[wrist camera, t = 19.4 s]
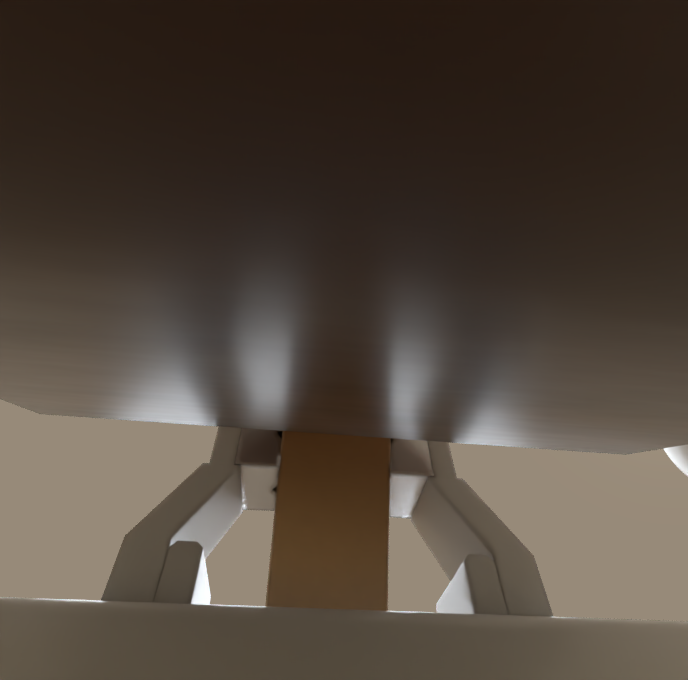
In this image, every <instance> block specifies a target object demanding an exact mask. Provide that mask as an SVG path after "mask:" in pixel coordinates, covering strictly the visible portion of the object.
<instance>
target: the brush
mask: <svg viewBox="0 0 688 680" xmlns="http://www.w3.org/2000/svg"><path fill="white" fill-rule="evenodd" d="M390 450H391V438H380V437H365V436H351V435H336V434H322V433H307V432H293V431H282V440H281V463H280V471H279V473H278V481H277V492H276V502H275V513H274V523H273V534H272V543H271V554H270V564H269V574H268V585H267V595H266V605H265V606H267V607H295V608H323V609H351V610H379V611H388V573H389V572H388V571H389V567H388V566H389V511H390V478H389V467H390Z"/></svg>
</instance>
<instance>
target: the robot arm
mask: <svg viewBox="0 0 688 680" xmlns="http://www.w3.org/2000/svg"><path fill="white" fill-rule="evenodd" d="M281 440H282V431H278V430H264V429H250V428H235V427H221V426H219V428H218V432H217V435H216V439H215V443H214V447H213V451H212V455H211V459H210V463H203V464H202V465H201V466H200V467H199V468H197V469H196V470H195V471H194V472H193V473H192V474H191V475H190V476H189V477H188V478H187V479H186V480H185V481H183V482H182V483H181V484H180V485H179V486H178V487H177V488H176V489H175V490H174V491H173V492H172V493H171V494H170V495H168V496H167V497H166V498H165V499H164V500H163V501H162V502H161V503H160V504H159V505H158V506H157V507H155V508H154V509H153V510H152V511H151V512H150V513H149V514H148V515H147V516H146V517H145V518H144V519H143V520H142V521H140V522H139V523H138V524H137V525H136V526H135V527H134V528H133V529H132V530H131V531H130V532H129V533H128V534H126V535H125V537H124V540H123V543H122V545H121V548H120V550H119V553H118V556H117V558H116V561H115V564H114V567H113V569H112V572H111V575H110V577H109V580H108V583H107V586H106V588H105V591H104V594H103V596H102V599H101V601H94V600H66V599H37V598H10V597H8V598H7V597H0V680H688V621H660V620H632V619H603V618H574V617H553V614H552V611H551V608H550V604H549V602H548V599H547V595H546V592H545V589H544V586H543V583H542V580H541V577H540V574H539V571H538V567H537V564H536V561H535V558H534V556H533V555H532V553H531V552H530V551H529V550H528V549H527V548H526V547H525V546H524V545H523V544H522V543H521V542H520V540H519V539H518V538H517V537H516V536H515V535H514V534H513V533H512V532H511V531H510V530H509V529H508V527H507V526H506V525H505V524H504V523H503V522H502V521H501V520H500V519H499V518H498V517H497V515H496V514H495V513H494V512H493V511H492V510H491V509H490V508H489V507H488V506H487V505H486V504H485V503H484V502H483V500H482V499H481V498H480V497H479V496H478V495H477V494H476V493H475V492H474V491H473V490H472V488H471V487H470V486H469V485H468V484H467V483H466V482H465V481H464V480H463V479H460V478H457V477H456V473H455V468H454V464H453V460H452V456H451V451H450V447H449V442H437V441H423V440H408V439H394V438H391V450H390V467H389V478H390V511H389V517H397V518H410V519H411V522H412V523H413V525H414V526H415V527H416V529H417V531H418V532H419V534H420V535H421V537H422V538H423V540H424V541H425V543H426V544H427V546H428V547H429V549H430V551H431V552H432V553H433V555H434V557H435V558H436V560H437V561H438V563H439V564H440V566H441V567H442V569H443V570H444V572H445V573H446V575H447V576H448V578H449V579H450V581H451V582H450V583H449V585H448V587H447V588H446V590H445V591H444V593H443V594H442V596H441V598H440V599H439V601H438V602H437V604H436V608H437V613H435V612H406V611H405V612H404V611H379V610H351V609H323V608H295V607H267V606H238V605H209V603H210V597H211V596H210V589H209V583H208V576H207V570H206V564H205V559H206V558H207V557H208V555H209V554H210V553H211V551H212V550H213V549H214V548H215V546H216V545H217V544H218V542H219V541H220V540H221V539H222V537H223V536H224V535H225V534H226V532H227V531H228V530H229V529H230V527H231V526H232V525H233V523H234V522H235V521H236V520H237V518H238V517H239V516H240V515H241V513H242V510H271V511H275V502H276V492H277V481H278V473H279V471H280V463H281ZM663 449H664V451H665V452H666V454H667V455H668V456H669V458H670V459H671V460H672V462H673V463H674V464H675V465H676V466H677V467H678V468H679V469H680V470H681V471H682V472H683V473H684V474H685V475H686V476H688V445H682V446H675V447H669V448H663Z"/></svg>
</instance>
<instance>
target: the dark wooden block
mask: <svg viewBox="0 0 688 680" xmlns="http://www.w3.org/2000/svg"><path fill="white" fill-rule="evenodd" d="M0 399H2V400H4V401H7V402H10V403H12V404H15V405H18V406H20V407H23V408H26V409H28V410H31V411H34V412H36V413H39V414H47V415H62V416H76V417H91V418H106V419H120V420H134V421H148V422H164V423H177V424H192V425H206V426H221V427H235V428H250V429H264V430H278V431H293V432H307V433H322V434H336V435H351V436H365V437H380V438H394V439H408V440H423V441H437V442H452V443H466V444H481V445H496V446H510V447H525V448H539V449H553V450H567V451H582V452H597V453H611V454H632V453H638V452H644V451H651V450H657V449H663V448H669V447H675V446H682V445H688V0H0Z"/></svg>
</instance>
